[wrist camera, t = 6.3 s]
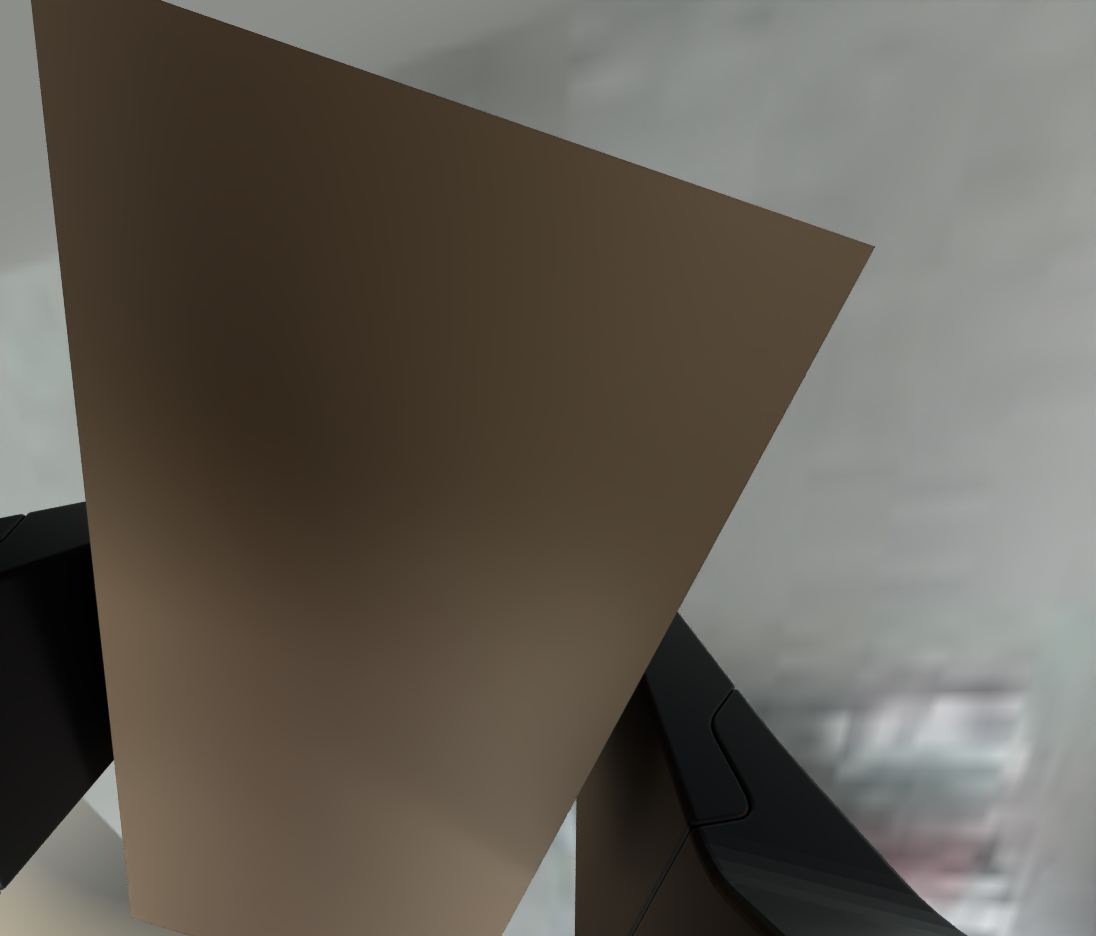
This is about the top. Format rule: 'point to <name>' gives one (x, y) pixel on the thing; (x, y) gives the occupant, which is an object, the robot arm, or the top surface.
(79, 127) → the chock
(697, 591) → the top surface
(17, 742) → the robot arm
